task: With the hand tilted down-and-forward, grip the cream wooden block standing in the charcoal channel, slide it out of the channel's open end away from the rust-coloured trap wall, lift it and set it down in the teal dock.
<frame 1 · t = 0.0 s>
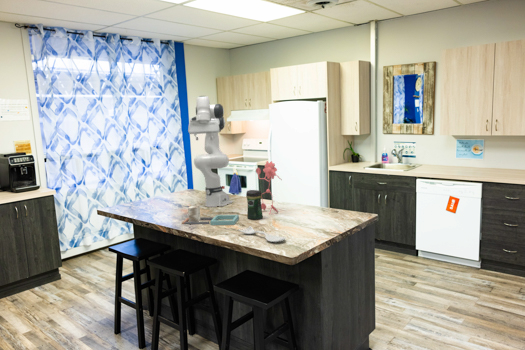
hand: (204, 139, 266), 52 cm above the countertop, tool tilted 20°, fingers open, 8 cm apart
coffee jar: (255, 218, 266), on the countertop
channel: (198, 222, 263), on the countertop
spoon: (262, 238, 224), on the countertop
dock: (225, 221, 260), on the countertop
cream block: (194, 222, 263), resting in channel
pink irregular tall piece: (272, 211, 282), on the countertop
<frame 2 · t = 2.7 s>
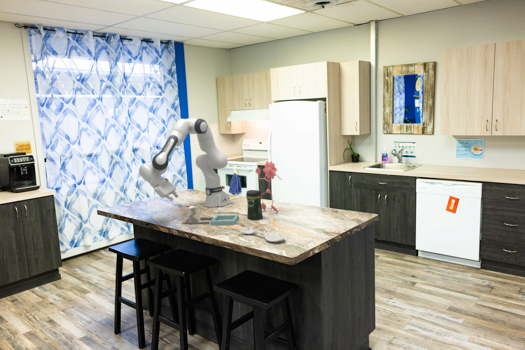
hand: (175, 198, 263), 16 cm above the countertop, tool tilted 45°, fingers open, 8 cm apart
nothing on the countertop moved.
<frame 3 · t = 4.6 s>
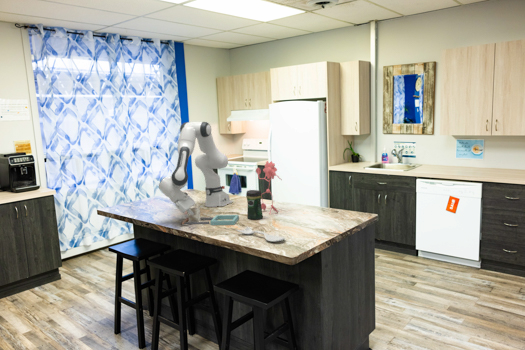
hand: (195, 213, 262), 6 cm above the countertop, tool tilted 45°, fingers closed on cream block, 5 cm apart
cream block: (194, 222, 263), resting in channel, touching gripper
everything else where it was.
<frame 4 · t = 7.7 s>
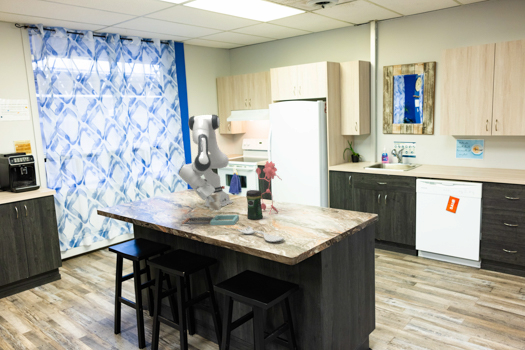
hand: (215, 200, 260), 14 cm above the countertop, tool tilted 45°, fingers closed on cream block, 5 cm apart
cream block: (215, 209, 261), point 8 cm above the countertop, touching gripper
everything else where it was.
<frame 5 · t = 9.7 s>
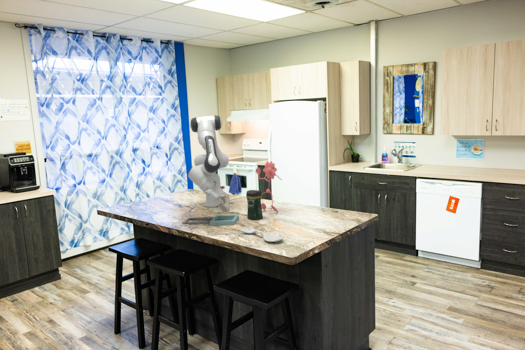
hand: (224, 201, 258), 13 cm above the countertop, tool tilted 45°, fingers closed on cream block, 5 cm apart
cream block: (224, 211, 259), point 7 cm above the countertop, touching gripper
when the fingers open (7 cm above the countertop, at t = 11.1 s): cream block drops 1 cm, resting in dock.
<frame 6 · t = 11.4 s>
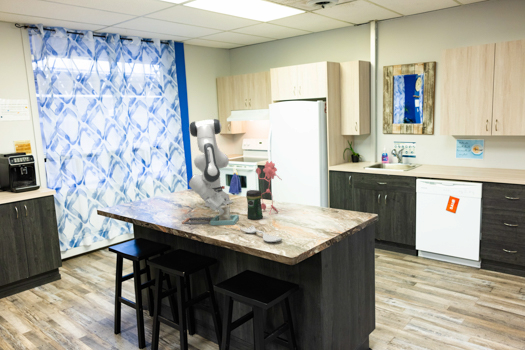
hand: (225, 210, 259), 7 cm above the countertop, tool tilted 45°, fingers open, 8 cm apart
cream block: (225, 221, 260), resting in dock
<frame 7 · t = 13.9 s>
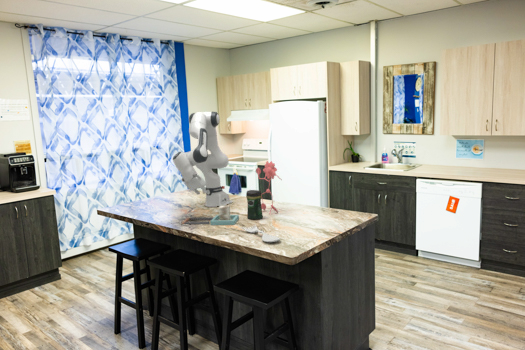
hand: (202, 193, 264), 18 cm above the countertop, tool tilted 30°, fingers open, 8 cm apart
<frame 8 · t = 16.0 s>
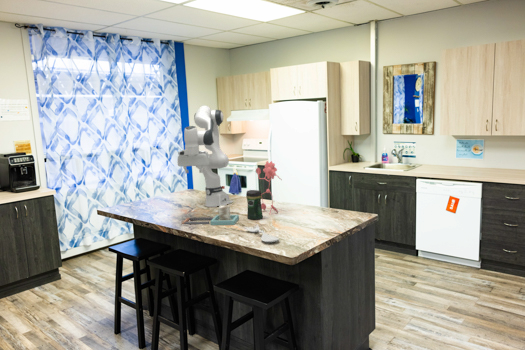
hand: (193, 172, 266), 31 cm above the countertop, tool pointing down, fingers open, 8 cm apart
at the end: cream block 0.1 cm from the dock (horizontally); cream block resting in dock; cream block tilted 0° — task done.
